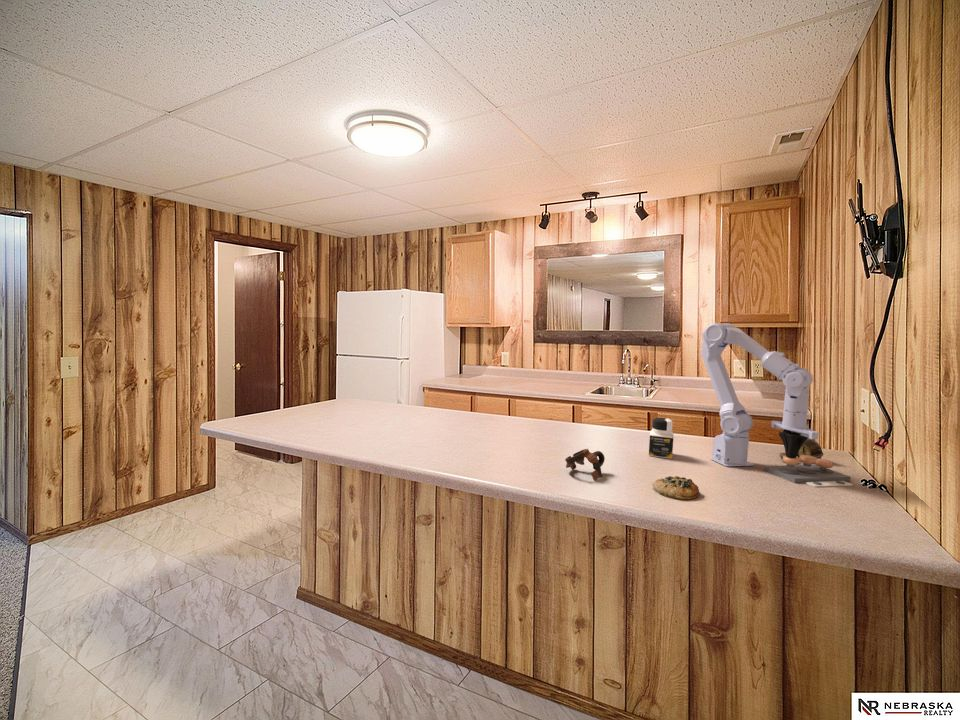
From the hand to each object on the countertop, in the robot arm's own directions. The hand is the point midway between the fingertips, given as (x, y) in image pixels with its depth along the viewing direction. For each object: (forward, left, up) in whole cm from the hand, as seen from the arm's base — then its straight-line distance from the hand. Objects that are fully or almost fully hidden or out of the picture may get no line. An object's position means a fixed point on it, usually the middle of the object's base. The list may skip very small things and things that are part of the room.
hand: (791, 457), depth 137 cm
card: (+5, -7, -5) cm, 11 cm away
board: (+5, 0, -5) cm, 8 cm away
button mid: (+5, 0, -3) cm, 6 cm away
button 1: (0, 0, -3) cm, 3 cm away
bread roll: (-41, -9, -6) cm, 43 cm away
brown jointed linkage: (-59, +7, -6) cm, 60 cm away
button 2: (+11, 0, -4) cm, 12 cm away
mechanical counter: (+16, +14, -6) cm, 22 cm away
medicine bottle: (-27, +23, -6) cm, 36 cm away
